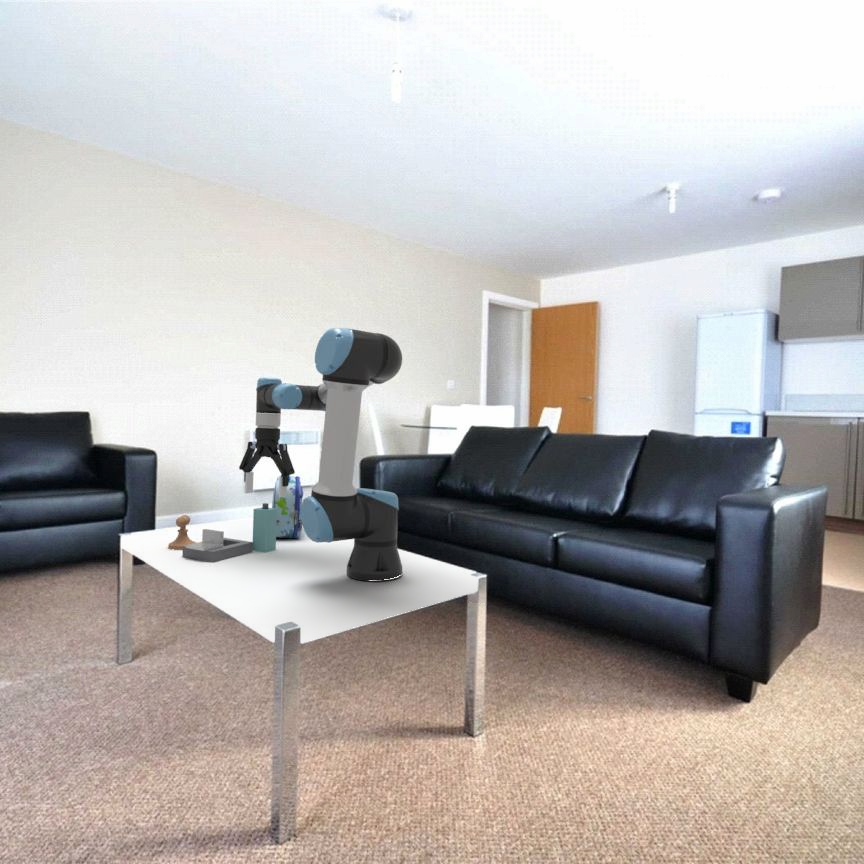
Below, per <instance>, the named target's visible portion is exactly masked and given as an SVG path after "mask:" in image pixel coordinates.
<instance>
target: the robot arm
mask: <svg viewBox="0 0 864 864" xmlns="http://www.w3.org/2000/svg"><path fill="white" fill-rule="evenodd" d="M314 364H315V368H316V371H317V372H318V373H319V374H321V375H322V379H321V380H322V383H320V384H319V385H318V386H317V385H304V384H303V385H302V384H294V383H286V382H285V383H284V382H283V381H282V379H281V378H279V377H278V378H277V377H259V378H258V379H257V381H256V382H257V383H256V406H255V407H256V408H255V410H256V411H255V429H254V433H255V434H254V438H255V440H256V441H248V442H247V447H246V448H247V449H246V450H245V452H244V456H243V457H242V460H241V462H240V465H239V466H238V469H239V471H240V470H242V471H243V475H244V476H243V481H244V483H245V486H244V493H245V494H251V493H254V472H253V470H254V468H255V467H256V466H257V464H258V463H259V461H260V460H261V459H262V458H263V457H264V458H270V459H271V460H272V461H273V462H274V464H275V466H276V467H277V469H278V471H279V472H280V474H281V475H279V476H280V479H279V497H287V486H288V485H289V476H292V475H294V474H295V473H296V471H295V467H294V465H293V463H292V460H291V458H290V454H289V451H288V444H287V443H279V441H280V439H281V429H280V427H281V418H282V417H281V415H282V410H300V411H301V410H302V411H318V412H319V411H321V412H324V413H325V414H324V423H323V434H322V440H321V441H322V442H321V453H320V462H319V463H320V464H319V473H318V482H316V483H315V484H314V485H312V487H311V494H310V496H307V497H304V498H303V499H302V504H301V508H300V516H301V522H302V529H303V531H304V533H305V535H306V537H308V538H309V540H310V541H312V542H315V543H328V544H329V543H332V542H339V541H340V542H341V541H347V540H349V541H350V540H353V541H354V542H353V547H352V551H351V553H350V556H349V559H348V562H347V565H346V575H347V577H349V578H350V579H353V580H356V579H357V581H362V580H384V579H390V578H394V577H397V576H399V575H401V574H402V575H403V564H402V560H401V557H400V553H399V550H398V524H399V521H398V519H399V510H400V508H399V498H398V497H399V496H398V495H397V494H396V493H395V492H392V491H387V490H381V489H372V488H362V487H359V488H356V487H355V486H354V484H353V480H354V471H355V464H356V456H357V455H356V452H357V444H358V443H357V442H358V433H359V426H360V416H361V413H360V412H361V408H362V407H361V404H362V395H363V392H364V391H365V390H366V389H368V388H369V387H370V386H372V385H374V384H375V385H382V384H384V383H386V382H388V381H390V380H392V379H393V378H394V377H396V375H398V374H399V372H400V370H401V369H402V368H401V367H402V364H403V354H402V350H401V347H400V346H399V344H398V343H397V342H396V341H395V339H393V338H392V337H390V336H389V335H387V334H383V333H379V332H371V331H364V330H359V329H353V328H348V327H345V328H344V327H332V328H329V329H328V330H326V331H325V332H324V333H323V334H322V336H321V337H320V338H319V340H318V343H317V345H316V349H315V353H314Z"/></svg>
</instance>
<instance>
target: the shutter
mask: <svg viewBox="0 0 864 864" xmlns="http://www.w3.org/2000/svg"><path fill="white" fill-rule="evenodd" d="M224 533H225V532H224V531H221V530H215V529H210V528H209V529H208V528H204V529H202V535H201V536H202V541H199V542H196V543H193V544H189V545H186V548H190V549H195V550H201V551H206V550H211V549H215V548H219V547H223V538H225V537H224V535H225V534H224Z"/></svg>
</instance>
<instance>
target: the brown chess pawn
mask: <svg viewBox="0 0 864 864" xmlns="http://www.w3.org/2000/svg"><path fill="white" fill-rule="evenodd" d="M190 522H191V517H190V516H189V515H187V514H185V515H184V514H183V515H181V516H180V517H178V518H177V519H176V520H175V525H176V526H177V527H178V528H179V529H178V530H177V533H178V534H177V536H176V538H175V539H174V540H173V541H171V542H169V543H168V547H169V548H170V549H169V548H168V549H169V550H172V549H174V550H173V551H183V546H186V545H189V544H193V543H197V542H196V541H193V540H192V539H191V538H190V537H189V536H188V532H189V530H188V529H187V528H186V526H187V525H189V524H190Z"/></svg>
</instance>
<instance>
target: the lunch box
mask: <svg viewBox="0 0 864 864" xmlns="http://www.w3.org/2000/svg"><path fill="white" fill-rule="evenodd" d="M280 476H281V475H278V476H277V478H276V481H275V484H274V488H273V493H272V502H271V503H272V504H271V508H276V509H277V524H276V538H279V539H283V538H288V539H293V538H294V539H296V540H298V539H299V538H300V536H301V531H303V526H302V522H301V516H300V508H301V504H302V502H303V497H304V490H303V487H302V485H301V484H302V483H301V477H300V476H298V475H297V476H293V475H289V485H288V486H287V497H279V479H280Z"/></svg>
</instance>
